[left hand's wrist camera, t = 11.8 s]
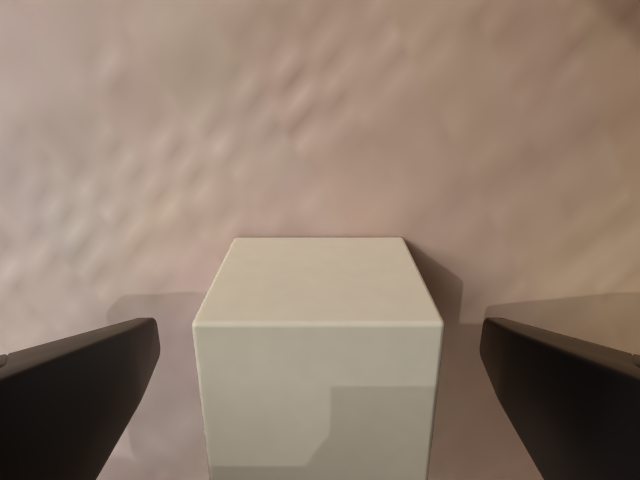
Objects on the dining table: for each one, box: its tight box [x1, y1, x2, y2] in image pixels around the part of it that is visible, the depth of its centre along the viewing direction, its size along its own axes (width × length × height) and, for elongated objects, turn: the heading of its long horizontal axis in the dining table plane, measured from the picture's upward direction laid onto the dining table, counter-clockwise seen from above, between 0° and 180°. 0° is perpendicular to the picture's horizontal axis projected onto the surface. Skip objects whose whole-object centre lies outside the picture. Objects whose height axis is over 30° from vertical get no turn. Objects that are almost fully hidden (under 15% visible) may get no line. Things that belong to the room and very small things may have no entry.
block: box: [192, 237, 445, 480], centre depth 10 cm, size 4×4×4 cm
